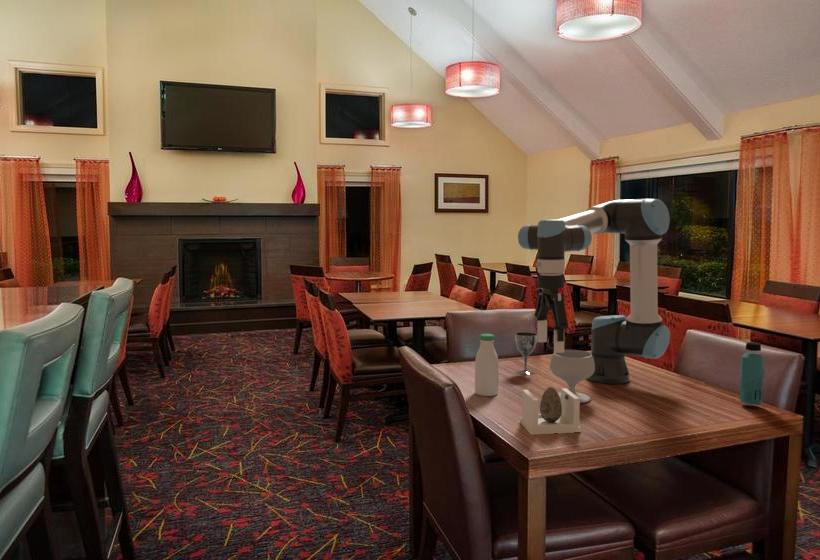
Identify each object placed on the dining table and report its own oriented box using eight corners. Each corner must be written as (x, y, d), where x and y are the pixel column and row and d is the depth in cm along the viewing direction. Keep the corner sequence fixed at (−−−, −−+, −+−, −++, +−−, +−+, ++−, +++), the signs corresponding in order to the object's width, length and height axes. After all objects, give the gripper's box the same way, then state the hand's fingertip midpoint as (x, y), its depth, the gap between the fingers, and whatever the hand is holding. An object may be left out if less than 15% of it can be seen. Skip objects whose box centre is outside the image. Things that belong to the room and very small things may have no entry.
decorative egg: (560, 426, 163) (560, 391, 162) (538, 424, 165) (538, 389, 164) (562, 420, 168) (563, 385, 167) (541, 417, 170) (541, 383, 169)
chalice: (545, 392, 200) (546, 348, 199) (587, 392, 200) (588, 348, 198) (554, 405, 186) (555, 358, 185) (599, 405, 186) (600, 358, 184)
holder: (567, 420, 172) (568, 388, 171) (580, 432, 162) (581, 398, 161) (520, 422, 171) (520, 389, 170) (530, 434, 161) (531, 400, 160)
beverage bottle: (754, 410, 180) (757, 345, 178) (733, 404, 186) (736, 341, 184) (767, 407, 183) (771, 343, 181) (746, 401, 189) (750, 339, 187)
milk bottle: (497, 397, 195) (498, 337, 193) (473, 396, 196) (474, 336, 194) (498, 390, 202) (499, 332, 200) (475, 389, 204) (476, 332, 202)
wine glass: (539, 371, 227) (539, 333, 226) (531, 376, 221) (532, 336, 219) (519, 369, 232) (520, 331, 230) (511, 373, 225) (512, 334, 223)
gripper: (524, 270, 181) (524, 338, 184) (553, 279, 157) (553, 357, 159) (548, 269, 182) (547, 337, 185) (581, 278, 158) (580, 356, 160)
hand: (550, 347), depth 172 cm, fingers open, 13 cm apart
